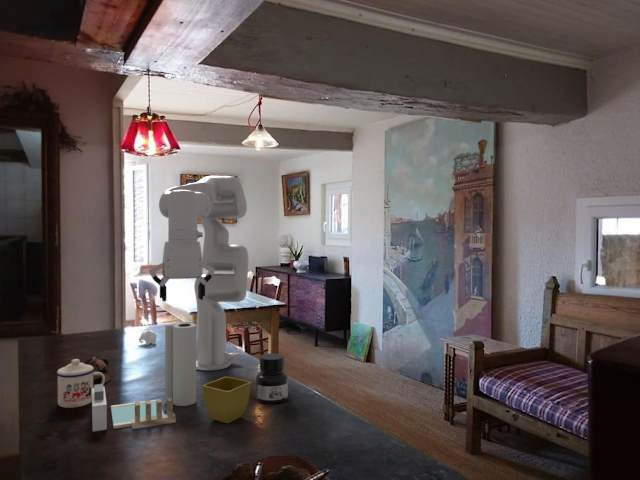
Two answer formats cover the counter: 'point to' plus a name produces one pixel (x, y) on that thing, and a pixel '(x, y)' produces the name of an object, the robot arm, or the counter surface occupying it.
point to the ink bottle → (271, 379)
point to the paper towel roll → (180, 364)
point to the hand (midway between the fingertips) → (182, 299)
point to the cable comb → (153, 420)
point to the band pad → (129, 413)
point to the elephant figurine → (148, 336)
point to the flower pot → (226, 398)
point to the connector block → (99, 408)
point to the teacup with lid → (76, 384)
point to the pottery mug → (100, 366)
